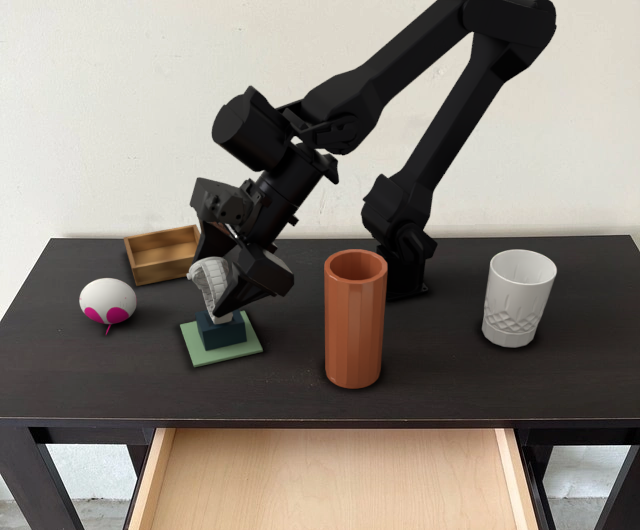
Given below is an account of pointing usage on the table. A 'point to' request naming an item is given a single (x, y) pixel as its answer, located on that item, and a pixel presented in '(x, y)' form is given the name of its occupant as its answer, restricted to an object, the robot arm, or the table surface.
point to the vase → (354, 317)
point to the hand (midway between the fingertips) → (202, 296)
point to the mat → (219, 354)
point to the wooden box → (162, 254)
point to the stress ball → (108, 301)
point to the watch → (214, 282)
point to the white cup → (516, 296)
